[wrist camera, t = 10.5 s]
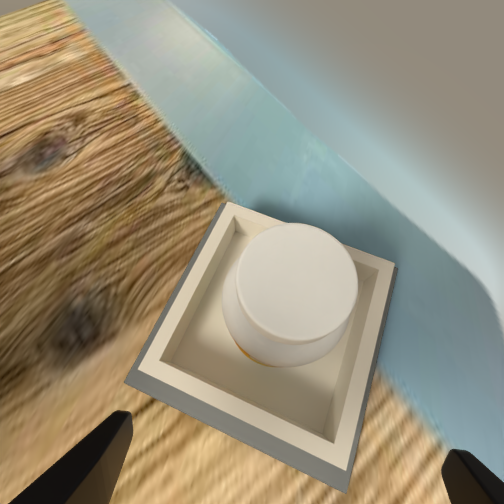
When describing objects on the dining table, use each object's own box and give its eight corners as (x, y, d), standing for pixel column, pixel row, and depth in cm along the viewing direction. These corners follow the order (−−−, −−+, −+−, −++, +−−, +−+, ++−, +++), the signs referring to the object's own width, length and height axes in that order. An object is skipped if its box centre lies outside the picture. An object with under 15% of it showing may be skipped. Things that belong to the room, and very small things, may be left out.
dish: (328, 453, 16) (345, 471, 13) (155, 369, 17) (137, 369, 14) (374, 277, 20) (394, 263, 17) (230, 223, 21) (227, 201, 19)
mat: (343, 490, 15) (346, 494, 15) (126, 382, 17) (123, 382, 17) (394, 270, 21) (397, 268, 20) (222, 206, 22) (221, 202, 22)
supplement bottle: (238, 276, 19) (227, 195, 10) (316, 287, 19) (378, 213, 10) (224, 360, 17) (195, 352, 8) (312, 373, 17) (386, 380, 8)
